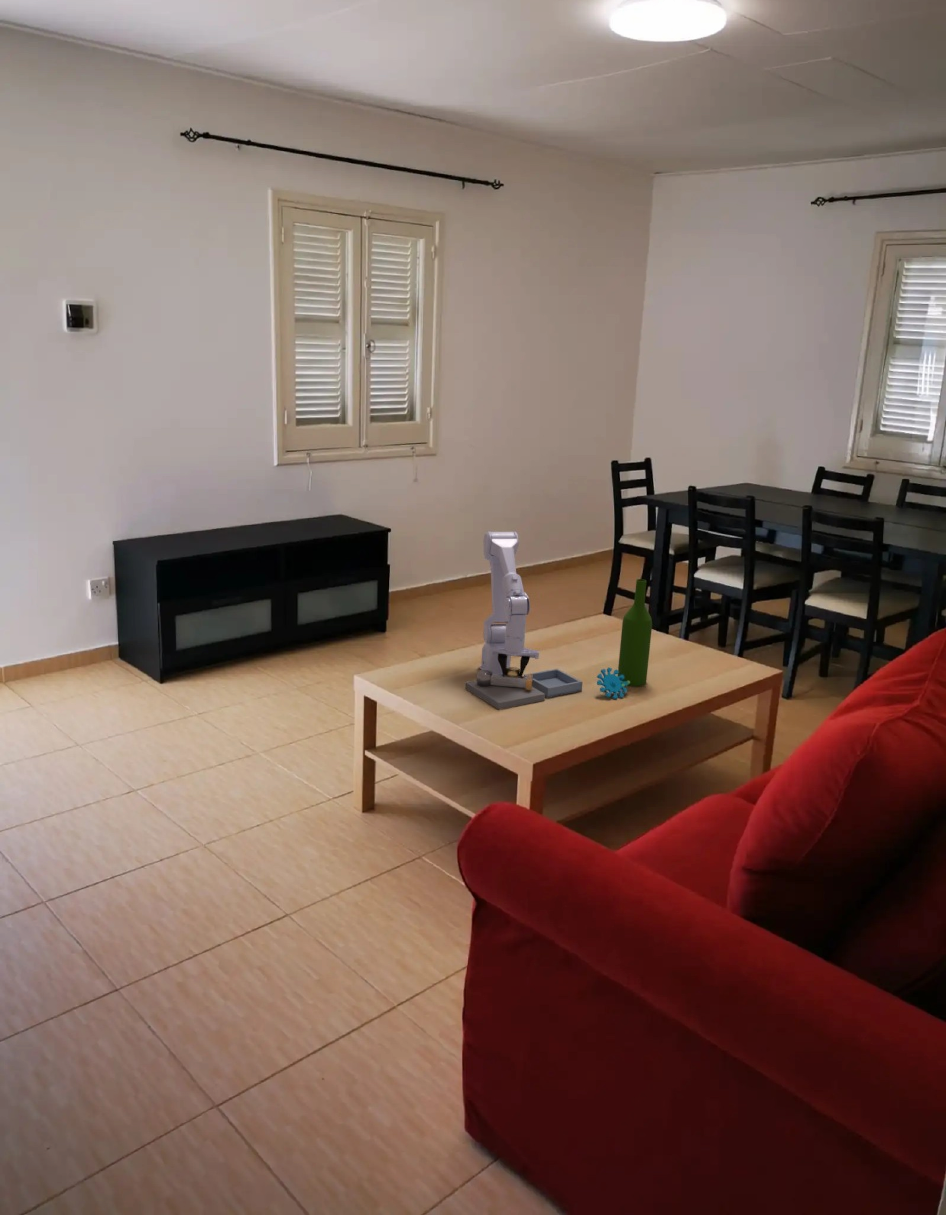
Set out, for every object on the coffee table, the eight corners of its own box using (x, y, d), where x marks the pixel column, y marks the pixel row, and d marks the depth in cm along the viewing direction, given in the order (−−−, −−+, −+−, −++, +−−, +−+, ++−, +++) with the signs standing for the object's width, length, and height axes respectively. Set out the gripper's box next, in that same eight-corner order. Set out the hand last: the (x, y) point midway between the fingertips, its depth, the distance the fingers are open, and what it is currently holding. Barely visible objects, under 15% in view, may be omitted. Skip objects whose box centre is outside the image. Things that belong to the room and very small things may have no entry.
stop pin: (502, 688, 281) (503, 668, 280) (513, 686, 283) (514, 666, 282) (510, 693, 278) (511, 672, 276) (521, 690, 280) (522, 670, 278)
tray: (523, 683, 286) (523, 674, 285) (556, 677, 292) (557, 668, 292) (547, 697, 276) (548, 688, 275) (581, 691, 282) (582, 681, 281)
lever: (475, 686, 276) (476, 674, 275) (478, 679, 281) (478, 668, 280) (531, 690, 274) (531, 679, 273) (532, 684, 279) (533, 673, 278)
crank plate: (465, 688, 280) (465, 682, 279) (510, 680, 288) (510, 674, 288) (498, 709, 265) (499, 702, 265) (544, 700, 274) (545, 693, 273)
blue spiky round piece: (602, 696, 274) (596, 665, 279) (592, 704, 279) (586, 674, 284) (634, 698, 278) (628, 667, 283) (625, 706, 283) (618, 676, 288)
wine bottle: (623, 674, 298) (632, 574, 289) (650, 680, 294) (660, 579, 285) (612, 682, 290) (622, 580, 281) (640, 688, 286) (650, 585, 277)
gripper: (488, 637, 273) (486, 681, 277) (538, 641, 271) (535, 685, 275) (491, 630, 280) (489, 673, 284) (540, 634, 278) (537, 677, 282)
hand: (512, 679), depth 280 cm, fingers closed on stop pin, 4 cm apart
